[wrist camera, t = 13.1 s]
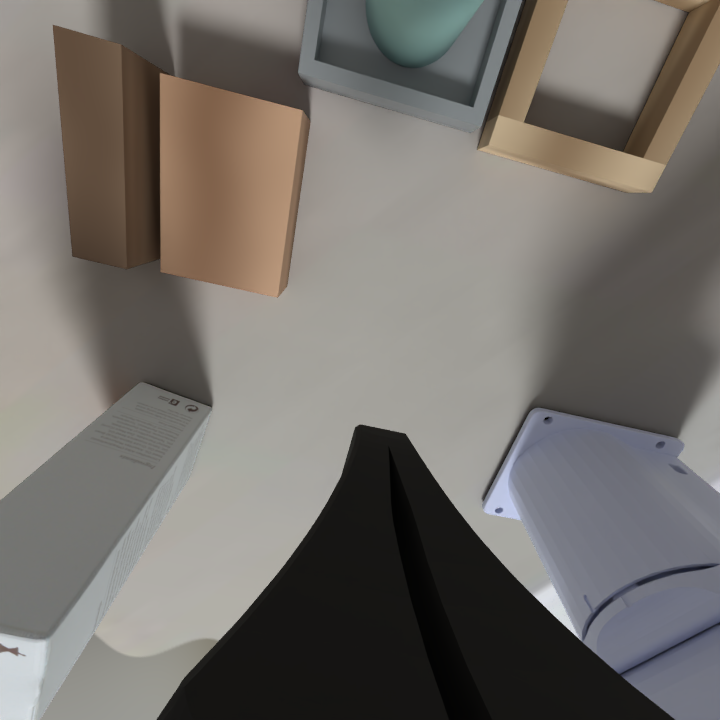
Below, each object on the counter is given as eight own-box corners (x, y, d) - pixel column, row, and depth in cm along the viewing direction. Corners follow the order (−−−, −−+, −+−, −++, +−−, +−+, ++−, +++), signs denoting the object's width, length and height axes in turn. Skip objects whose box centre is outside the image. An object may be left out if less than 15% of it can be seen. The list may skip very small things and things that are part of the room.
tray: (532, -64, 13) (553, -96, 11) (470, 133, 15) (481, 126, 14) (335, -133, 12) (332, -175, 11) (304, 84, 14) (297, 72, 13)
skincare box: (139, 378, 20) (-130, 600, 9) (215, 405, 21) (51, 642, 10) (121, 458, 22) (-111, 711, 11) (190, 480, 23) (34, 739, 12)
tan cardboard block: (311, 123, 15) (302, 110, 13) (288, 284, 18) (277, 297, 16) (191, 91, 15) (159, 72, 13) (186, 262, 18) (160, 272, 15)
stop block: (174, 77, 14) (121, 44, 11) (170, 255, 17) (126, 269, 14) (122, 63, 14) (53, 24, 11) (126, 244, 17) (72, 256, 14)
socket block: (730, -15, 13) (773, -39, 12) (626, 193, 16) (651, 192, 15) (551, -79, 12) (575, -112, 11) (477, 149, 15) (488, 145, 14)
